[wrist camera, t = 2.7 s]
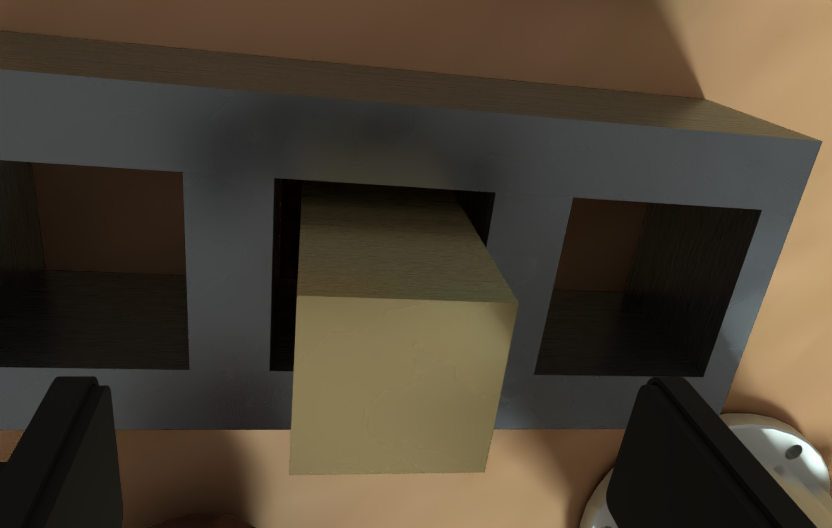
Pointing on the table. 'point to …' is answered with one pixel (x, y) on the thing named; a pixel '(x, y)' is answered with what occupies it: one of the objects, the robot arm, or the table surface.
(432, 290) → the tan rectangular block
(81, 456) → the robot arm
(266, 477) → the table surface
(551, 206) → the graphite rack rail
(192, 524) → the butternut squash
